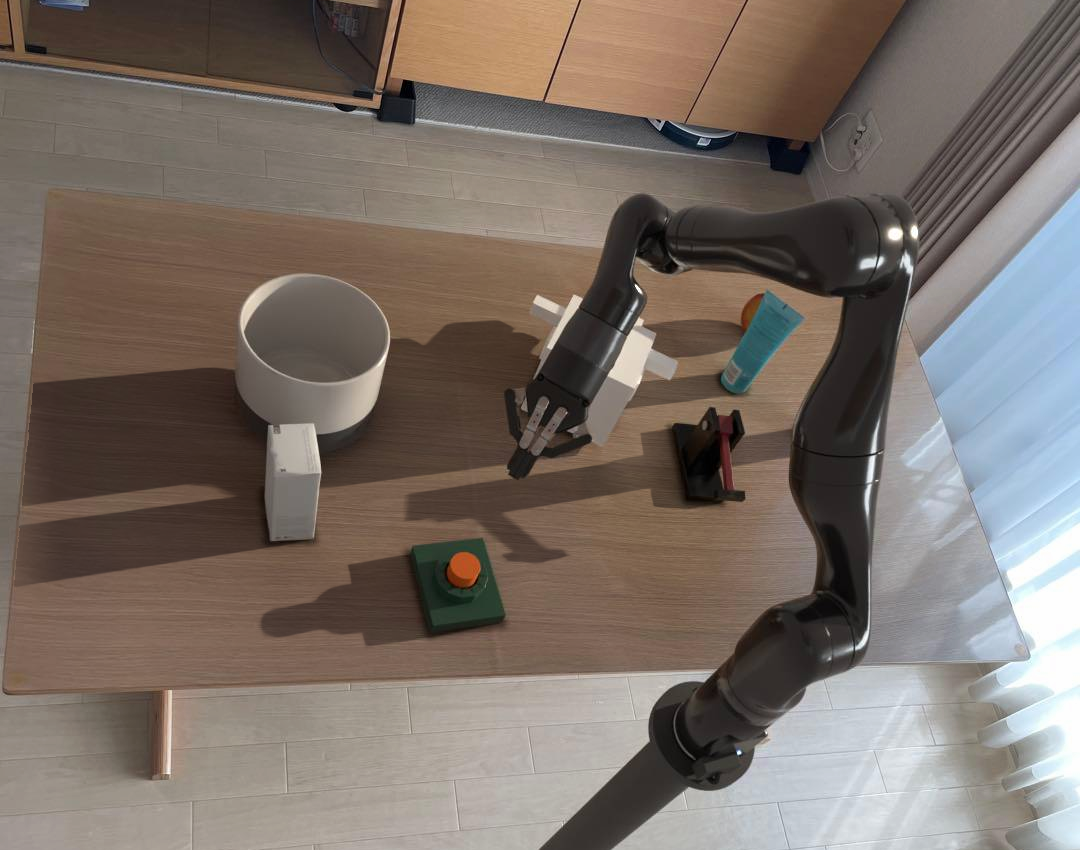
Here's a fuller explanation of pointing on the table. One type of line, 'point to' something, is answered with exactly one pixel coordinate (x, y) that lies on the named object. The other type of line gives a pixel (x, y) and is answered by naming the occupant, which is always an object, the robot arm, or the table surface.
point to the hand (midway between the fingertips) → (513, 477)
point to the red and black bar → (727, 463)
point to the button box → (452, 603)
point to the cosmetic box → (292, 481)
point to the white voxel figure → (620, 378)
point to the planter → (310, 358)
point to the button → (463, 570)
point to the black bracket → (703, 454)
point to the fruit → (750, 310)
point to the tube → (760, 342)
